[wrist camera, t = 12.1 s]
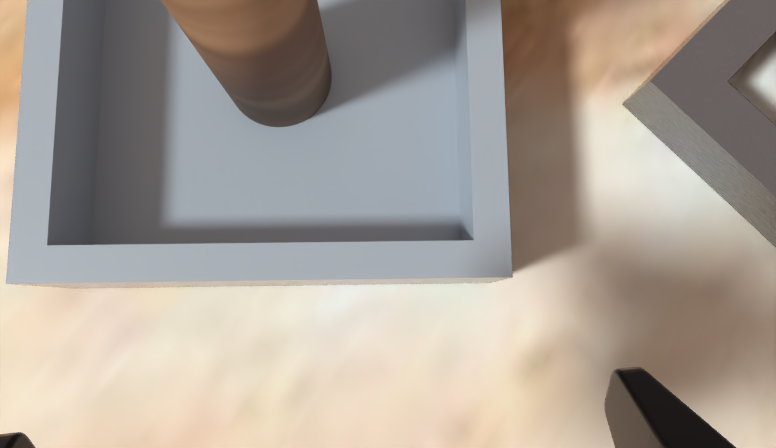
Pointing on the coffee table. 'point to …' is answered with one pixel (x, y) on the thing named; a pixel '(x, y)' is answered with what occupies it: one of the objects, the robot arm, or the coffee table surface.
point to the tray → (260, 154)
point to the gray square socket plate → (718, 110)
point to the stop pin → (261, 54)
